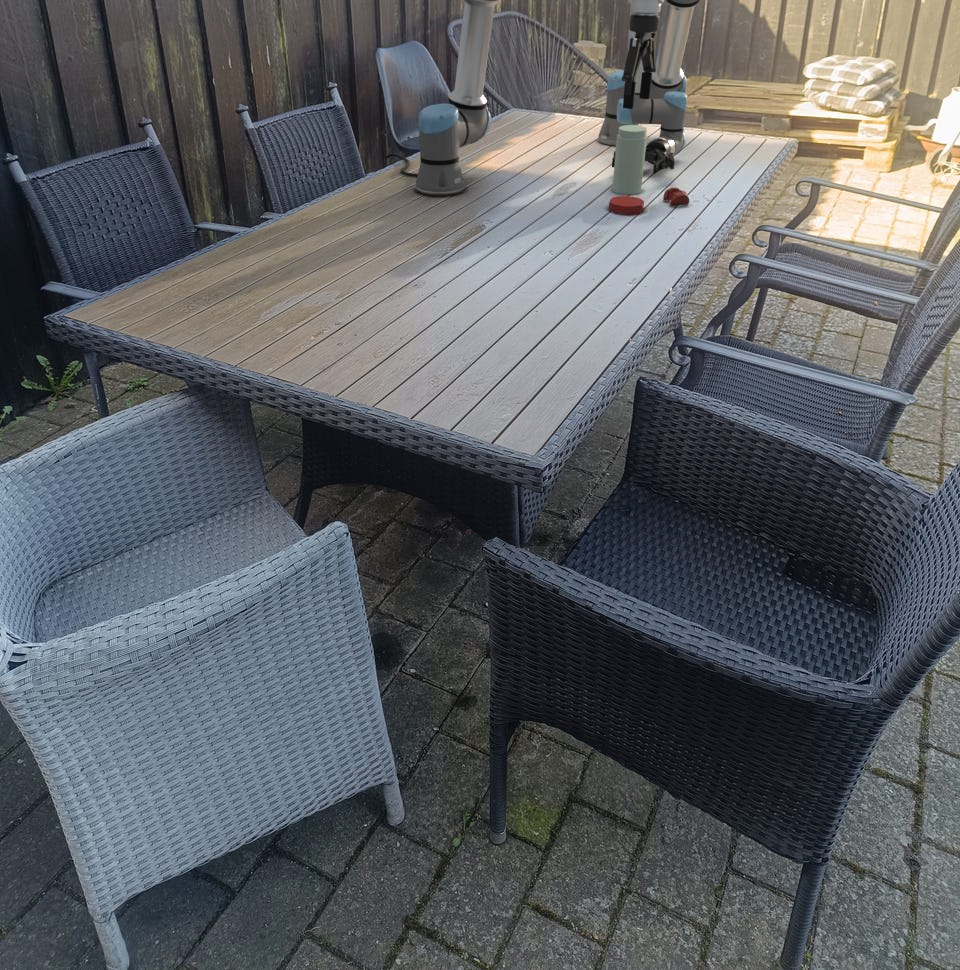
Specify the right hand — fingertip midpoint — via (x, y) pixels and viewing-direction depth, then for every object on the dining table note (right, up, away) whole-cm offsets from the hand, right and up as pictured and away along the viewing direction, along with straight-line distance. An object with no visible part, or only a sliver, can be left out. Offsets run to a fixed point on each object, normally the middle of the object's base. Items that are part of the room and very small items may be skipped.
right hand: (633, 165), depth 257 cm
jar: (-2, -7, +1) cm, 8 cm away
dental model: (+11, -15, -10) cm, 21 cm away
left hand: (-5, +5, -31) cm, 32 cm away
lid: (-5, -16, -16) cm, 23 cm away
